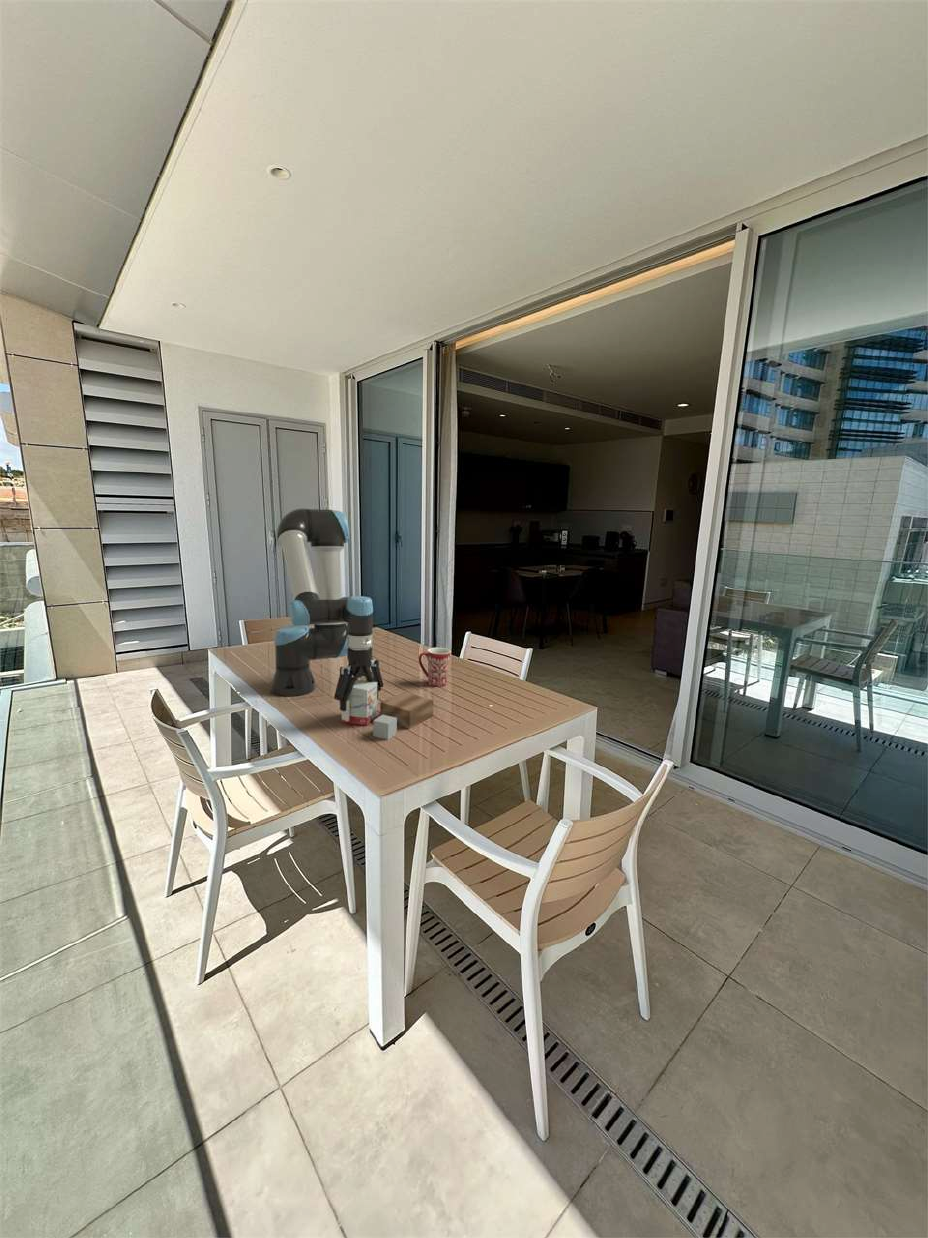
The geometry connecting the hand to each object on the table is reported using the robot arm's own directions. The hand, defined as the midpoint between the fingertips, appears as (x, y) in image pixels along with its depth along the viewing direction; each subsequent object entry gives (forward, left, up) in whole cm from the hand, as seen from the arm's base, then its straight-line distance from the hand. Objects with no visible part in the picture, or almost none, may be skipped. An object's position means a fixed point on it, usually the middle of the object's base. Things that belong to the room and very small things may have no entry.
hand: (359, 714), depth 158 cm
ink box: (0, 0, -2) cm, 2 cm away
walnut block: (+10, +11, -2) cm, 15 cm away
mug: (-6, +43, -2) cm, 43 cm away
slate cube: (+14, -3, -2) cm, 14 cm away
